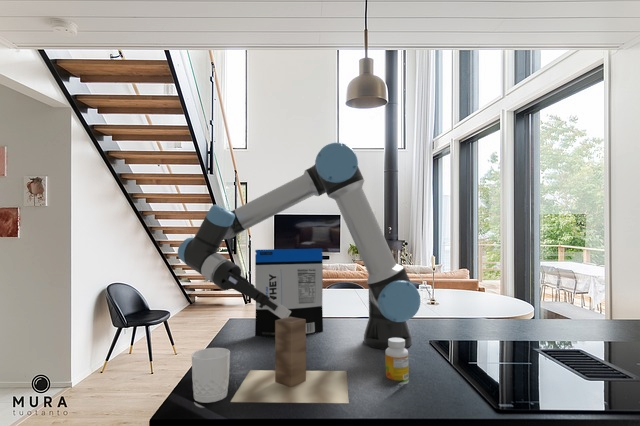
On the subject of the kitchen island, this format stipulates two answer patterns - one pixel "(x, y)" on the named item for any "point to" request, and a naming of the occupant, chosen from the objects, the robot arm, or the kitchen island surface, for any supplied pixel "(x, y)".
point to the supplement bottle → (397, 360)
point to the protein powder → (290, 287)
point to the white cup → (210, 374)
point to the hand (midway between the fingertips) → (287, 315)
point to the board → (294, 388)
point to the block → (290, 351)
